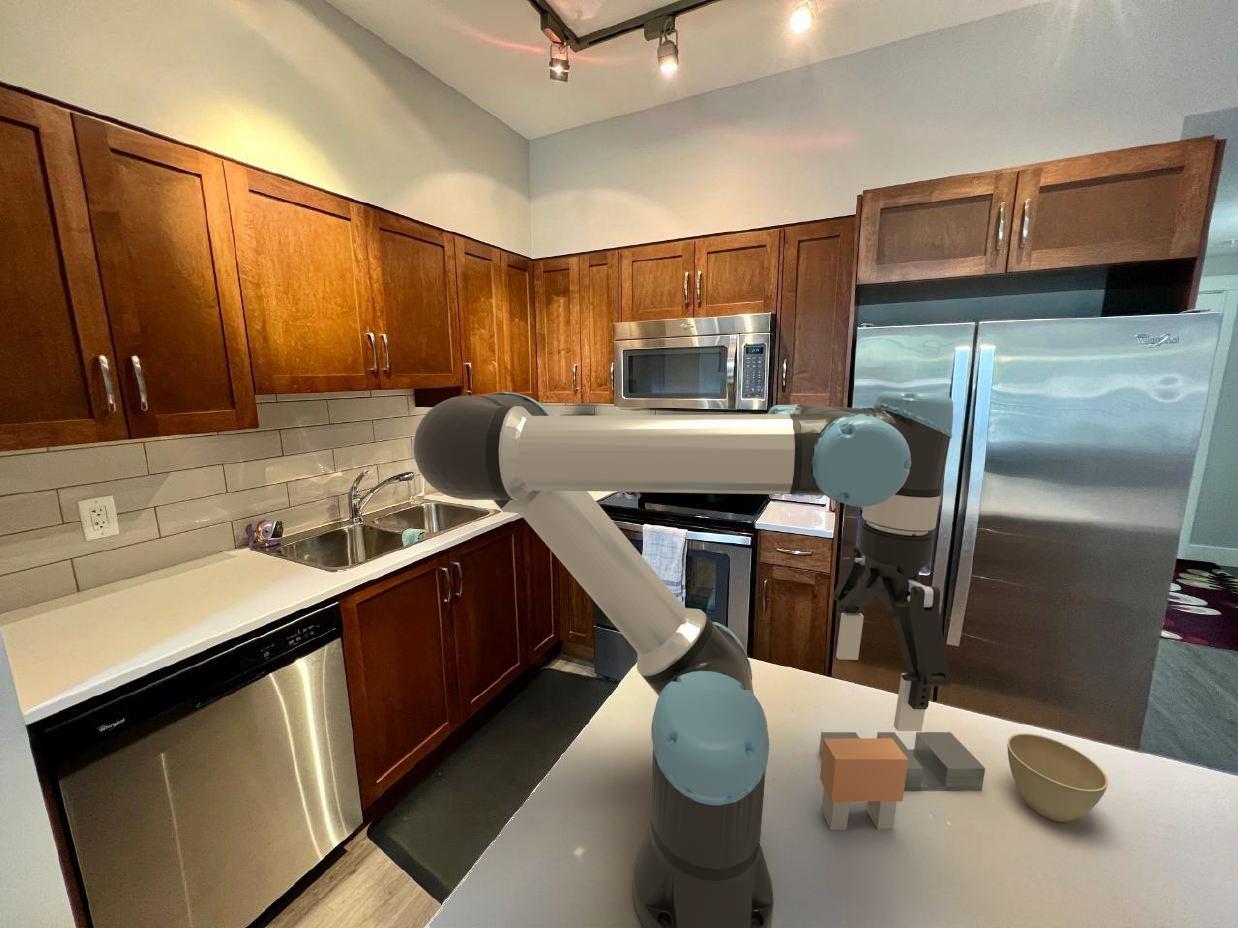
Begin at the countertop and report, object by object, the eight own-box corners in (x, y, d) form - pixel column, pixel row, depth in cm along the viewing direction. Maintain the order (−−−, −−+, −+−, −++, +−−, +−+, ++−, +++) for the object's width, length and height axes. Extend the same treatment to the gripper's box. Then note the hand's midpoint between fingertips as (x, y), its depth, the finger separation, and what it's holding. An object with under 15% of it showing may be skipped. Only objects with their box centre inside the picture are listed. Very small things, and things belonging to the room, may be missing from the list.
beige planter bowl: (1119, 847, 60) (1130, 797, 58) (1027, 831, 62) (1036, 782, 60) (1064, 782, 69) (1072, 738, 68) (985, 770, 71) (992, 727, 70)
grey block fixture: (840, 790, 68) (842, 768, 67) (819, 752, 74) (821, 732, 74) (981, 790, 68) (985, 768, 67) (947, 752, 75) (950, 732, 74)
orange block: (828, 831, 61) (835, 759, 59) (816, 807, 65) (823, 738, 63) (898, 831, 61) (908, 759, 60) (883, 807, 65) (891, 738, 63)
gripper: (1018, 567, 44) (979, 769, 48) (870, 499, 69) (852, 636, 73) (938, 565, 44) (905, 769, 48) (819, 498, 69) (803, 635, 72)
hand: (873, 689), depth 60 cm, fingers open, 13 cm apart
